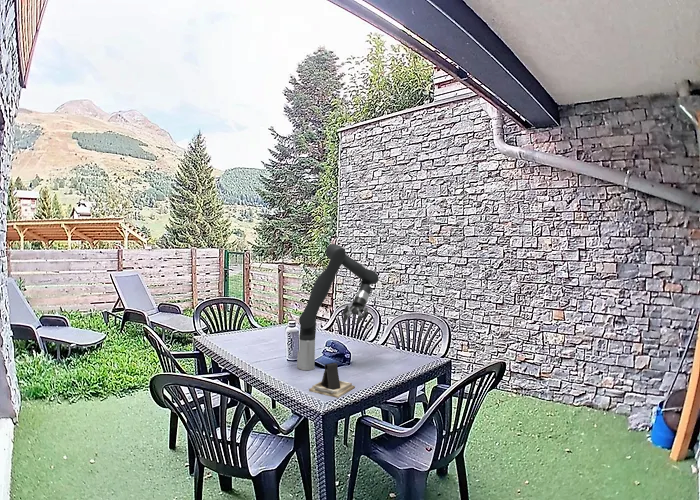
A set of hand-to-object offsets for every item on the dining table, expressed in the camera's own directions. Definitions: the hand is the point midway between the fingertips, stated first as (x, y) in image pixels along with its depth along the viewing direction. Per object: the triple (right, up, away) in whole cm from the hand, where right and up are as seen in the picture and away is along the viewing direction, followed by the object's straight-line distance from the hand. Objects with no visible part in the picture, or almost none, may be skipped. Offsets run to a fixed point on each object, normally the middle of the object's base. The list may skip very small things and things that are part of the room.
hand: (350, 322), depth 259 cm
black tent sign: (-10, -29, -28) cm, 42 cm away
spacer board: (-10, -30, -29) cm, 43 cm away
